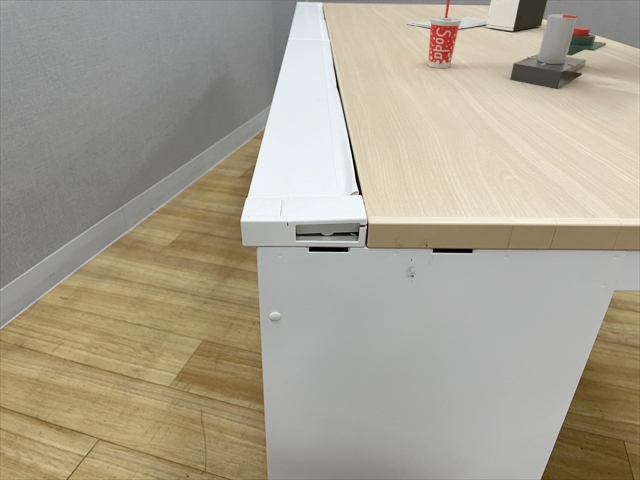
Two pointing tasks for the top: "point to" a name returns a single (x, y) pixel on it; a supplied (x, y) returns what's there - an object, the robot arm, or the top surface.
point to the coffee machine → (506, 15)
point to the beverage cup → (442, 40)
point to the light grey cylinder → (556, 38)
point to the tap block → (546, 71)
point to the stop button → (581, 31)
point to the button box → (583, 44)
